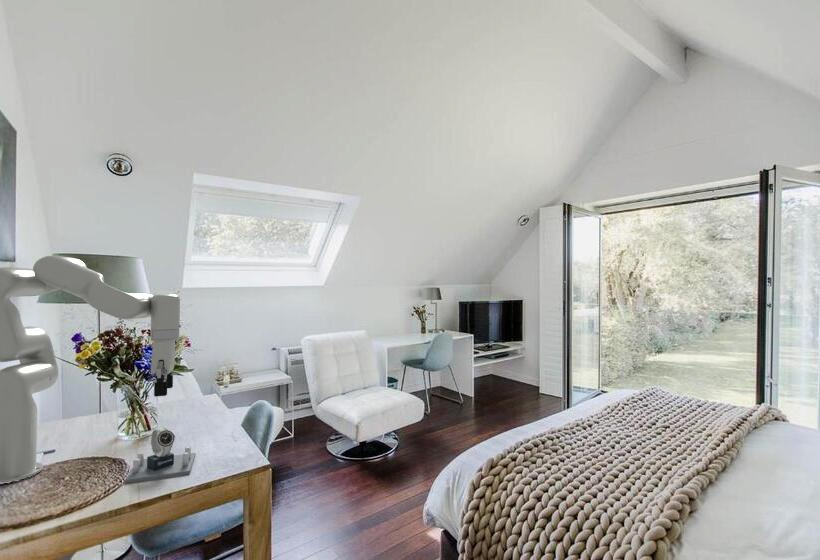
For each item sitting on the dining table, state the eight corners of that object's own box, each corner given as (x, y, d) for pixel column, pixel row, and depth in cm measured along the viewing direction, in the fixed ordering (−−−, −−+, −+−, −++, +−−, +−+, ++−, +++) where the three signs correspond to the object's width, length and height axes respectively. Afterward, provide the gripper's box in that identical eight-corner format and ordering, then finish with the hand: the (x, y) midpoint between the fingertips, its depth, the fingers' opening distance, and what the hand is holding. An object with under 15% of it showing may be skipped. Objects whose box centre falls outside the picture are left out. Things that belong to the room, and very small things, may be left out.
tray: (124, 483, 114) (125, 467, 114) (137, 463, 127) (137, 448, 127) (189, 474, 120) (190, 458, 120) (195, 455, 133) (195, 441, 133)
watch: (157, 472, 118) (158, 434, 118) (144, 466, 123) (144, 429, 123) (177, 465, 123) (178, 428, 123) (163, 459, 127) (164, 423, 128)
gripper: (156, 332, 131) (155, 386, 130) (143, 338, 115) (142, 400, 114) (183, 331, 133) (182, 384, 133) (174, 338, 117) (173, 398, 117)
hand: (163, 391), depth 124 cm, fingers open, 9 cm apart
